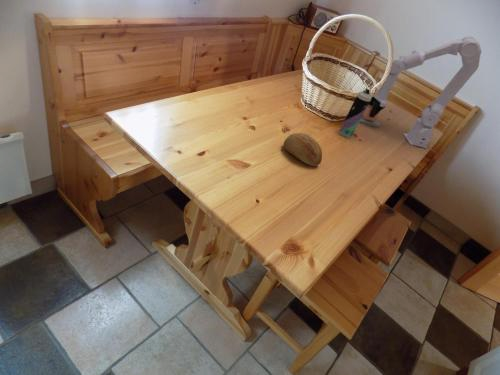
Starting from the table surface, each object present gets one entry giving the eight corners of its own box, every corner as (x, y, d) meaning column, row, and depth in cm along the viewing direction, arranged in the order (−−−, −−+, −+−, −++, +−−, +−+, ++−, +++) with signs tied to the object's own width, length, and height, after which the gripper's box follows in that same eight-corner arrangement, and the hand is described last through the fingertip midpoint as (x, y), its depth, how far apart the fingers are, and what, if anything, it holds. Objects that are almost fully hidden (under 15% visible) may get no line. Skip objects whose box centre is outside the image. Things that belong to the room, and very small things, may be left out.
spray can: (337, 133, 131) (359, 88, 119) (340, 128, 136) (362, 84, 123) (349, 139, 130) (373, 94, 118) (352, 134, 134) (376, 90, 122)
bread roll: (309, 173, 104) (318, 153, 99) (275, 149, 110) (282, 129, 105) (323, 164, 111) (333, 145, 106) (290, 142, 117) (298, 123, 112)
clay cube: (374, 121, 147) (379, 111, 144) (364, 118, 146) (369, 109, 143) (371, 116, 151) (376, 106, 148) (361, 113, 150) (366, 104, 147)
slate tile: (379, 128, 146) (380, 125, 146) (359, 123, 145) (360, 120, 144) (373, 117, 154) (374, 115, 153) (354, 112, 153) (355, 110, 152)
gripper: (371, 77, 144) (357, 105, 152) (381, 91, 133) (365, 119, 141) (385, 81, 145) (371, 108, 153) (396, 95, 134) (380, 123, 142)
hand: (369, 114), depth 147 cm, fingers closed on clay cube, 5 cm apart
